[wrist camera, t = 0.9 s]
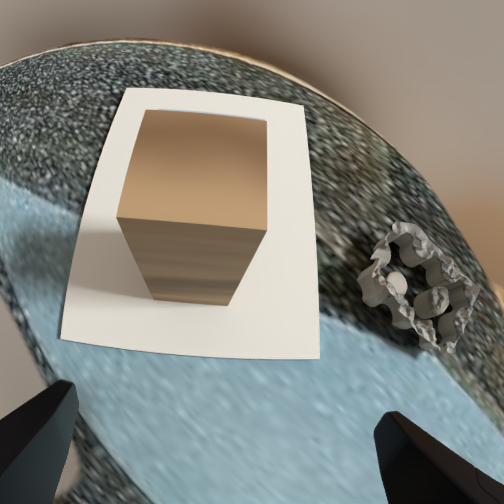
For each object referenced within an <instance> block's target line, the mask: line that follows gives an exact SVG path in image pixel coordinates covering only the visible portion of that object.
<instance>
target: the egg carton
mask: <svg viewBox="0 0 504 504" xmlns="http://www.w3.org/2000/svg"><path fill="white" fill-rule="evenodd" d="M392 241H393V242H395V243H396V244H397V245H398V246H399V247H400V250H399V254H400V258H401V260H402V262H403V263H404V264H405V265H406V266H408V267H415V266H417V265H419V264H420V265H422V266H423V267H424V268H425V269H426V280H427V282H428V284H429V285H430V286H431V287H432V288H431V289H429V290H427V291H425V292H423V293H420V294H418V295H417V296H416V297H415V299H414V304H413V306H414V308H412V307H410V306H409V305H408V301H407V300H406V299H405V298H404V294H405V293H406V290H407V282H406V279H405V278H404V277H403V275H402V274H401V273H399V272H391V273H389V274H388V276H387V278H386V280H385V279H384V277H383V276H381V275H380V273H379V269H381V268H382V267H384V266H385V265H387V264H388V263H389V261H390V259H391V251H390V248H389V245H388V244H389V243H391V242H392ZM373 251H374V254H373V255H372V257H371V259H372V260H375V262H374V263H373V265H371V266H370V267H368V268H367V269H365V270H364V271H362V272H361V273H360V275H359V277H358V279H357V282H358V283H359V285H360V286H361V288H362V292H363V297H362V300H363V301H364V303H366V304H367V305H368V306H370V307H376V306H377V305H378V304H381V303H383V304H385V305H387V306H388V307H389V308H390V310H391V312H392V316H393V320H392V325H394V326H396V327H398V328H400V329H408V328H411V327H413V328H414V329H415V330H416V332H417V333H418V334H419V346H420V347H421V348H422V349H424V350H426V351H427V350H429V349H431V348H437V349H438V348H439V350H440V352H441V353H444V352H448V353H451V355H452V354H454V353H455V351H456V348H455V345H456V343H457V341H458V340H459V338H460V337H462V336H463V334H464V327H465V325H466V324H467V322H468V321H469V316H470V315H471V313H472V311H473V308H472V305H473V303H474V301H475V300H476V298H477V295H478V293H479V290H480V288H479V286H477V285H476V284H475V283H473V282H472V281H471V280H469V279H468V278H467V277H466V276H464V275H462V274H461V273H460V269H459V268H456V267H454V266H453V260H452V259H451V258H449V257H448V256H446V255H445V254H444V253H443V252H442V251H441V250H440V249H439V248H438V247H437V246H436V245H434V244H433V243H432V242H431V241H430V240H429V239H428V237H427V236H426V235H425V233H424V232H423V231H422V229H421V228H419V227H418V226H417V225H415V224H412V223H404V222H395V223H394V224H393V230H392V231H390V232H389V233H388V234H387V235H386V236H385V237H383V238H382V239H381V240H380V241H379V242H378V243H377V244H376V246H375V247H374V249H373ZM444 286H445V287H444ZM446 288H447V289H448V290H449V299H448V290H447V289H446ZM449 301H450V302H449ZM449 303H451V305H452V307H453V310H452V312H449V313H446V314H444V315H442V316H441V317H440V318H439V321H438V330H439V333H440V335H441V336H442V340H441V343H440V344H436V343H435V342H436V341H437V339H436V338H435V330H434V328H433V327H432V321H431V320H429V319H428V318H431V317H434V316H438V315H440V314H442V313H443V312H444V311H445V310H446V308H447V307H448V305H449ZM414 310H415V313H416V314H417V316H418V317H419V318H421V319H428V320H425V321H418V322H415V323H413V320H414ZM434 319H435V318H434Z"/></svg>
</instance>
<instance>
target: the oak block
mask: <svg viewBox="0 0 504 504" xmlns="http://www.w3.org/2000/svg"><path fill="white" fill-rule="evenodd" d="M116 218H117V221H118V223H119V226H120V228H121V230H122V233H123V235H124V237H125V239H126V242H127V244H128V246H129V248H130V251H131V253H132V255H133V257H134V259H135V262H136V264H137V266H138V268H139V270H140V272H141V274H142V276H143V279H144V281H145V283H146V285H147V287H148V289H149V291H150V293H151V295H152V297H153V299H154V300H159V301H170V302H182V303H194V304H206V305H220V306H228V305H229V303H230V301H231V299H232V297H233V295H234V293H235V291H236V289H237V288H238V286H239V284H240V282H241V280H242V278H243V276H244V274H245V272H246V270H247V268H248V266H249V265H250V263H251V261H252V259H253V257H254V255H255V253H256V251H257V249H258V247H259V245H260V243H261V242H262V240H263V238H264V236H265V234H266V232H267V121H264V120H257V119H250V118H243V117H235V116H226V115H217V114H207V113H196V112H183V111H167V110H145V113H144V116H143V119H142V122H141V125H140V128H139V132H138V135H137V138H136V141H135V145H134V148H133V152H132V155H131V159H130V162H129V166H128V169H127V173H126V177H125V181H124V185H123V189H122V193H121V197H120V201H119V205H118V210H117V214H116Z"/></svg>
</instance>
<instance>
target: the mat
mask: <svg viewBox="0 0 504 504" xmlns="http://www.w3.org/2000/svg"><path fill="white" fill-rule="evenodd" d="M145 110H167V111H183V112H196V113H207V114H217V115H226V116H235V117H243V118H250V119H257V120H264V121H267V232H266V234H265V236H264V238H263V240H262V242H261V243H260V245H259V247H258V249H257V251H256V253H255V255H254V257H253V259H252V261H251V263H250V265H249V266H248V268H247V270H246V272H245V274H244V276H243V278H242V280H241V282H240V284H239V286H238V288H237V289H236V291H235V293H234V295H233V297H232V299H231V301H230V303H229V305H228V306H220V305H206V304H194V303H182V302H170V301H159V300H154V299H153V297H152V295H151V293H150V291H149V289H148V287H147V285H146V283H145V281H144V279H143V276H142V274H141V272H140V270H139V268H138V266H137V264H136V262H135V259H134V257H133V255H132V253H131V251H130V248H129V246H128V244H127V242H126V239H125V237H124V235H123V233H122V230H121V228H120V226H119V223H118V221H117V218H116V214H117V210H118V205H119V201H120V197H121V193H122V189H123V185H124V181H125V177H126V173H127V169H128V166H129V162H130V159H131V155H132V152H133V148H134V145H135V141H136V138H137V135H138V132H139V128H140V125H141V122H142V119H143V116H144V113H145ZM60 339H63V340H68V341H74V342H79V343H85V344H92V345H98V346H105V347H112V348H120V349H127V350H135V351H144V352H153V353H163V354H174V355H186V356H199V357H215V358H236V359H270V360H313V359H320V344H319V300H318V275H317V255H316V237H315V222H314V208H313V195H312V184H311V172H310V162H309V152H308V142H307V133H306V124H305V116H304V107H303V106H301V105H296V104H291V103H285V102H279V101H273V100H267V99H261V98H254V97H247V96H239V95H231V94H223V93H213V92H202V91H190V90H175V89H154V88H127V89H126V91H125V93H124V96H123V98H122V101H121V103H120V105H119V108H118V110H117V113H116V115H115V118H114V120H113V123H112V125H111V128H110V131H109V133H108V136H107V139H106V142H105V144H104V147H103V150H102V153H101V156H100V159H99V162H98V165H97V168H96V171H95V174H94V178H93V181H92V184H91V188H90V191H89V195H88V198H87V202H86V205H85V209H84V213H83V217H82V221H81V225H80V229H79V233H78V237H77V241H76V246H75V250H74V255H73V260H72V265H71V270H70V276H69V281H68V287H67V293H66V299H65V306H64V313H63V321H62V329H61V338H60Z"/></svg>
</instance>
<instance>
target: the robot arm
mask: <svg viewBox="0 0 504 504" xmlns="http://www.w3.org/2000/svg"><path fill="white" fill-rule="evenodd" d="M78 408H79V402H78V397H77V392H76V387H75V384H74V383H73V382H70V381H67V380H63V379H60V380H58V381H57V382H55V383H54V384H52V385H51V386H49V387H48V388H46V389H45V390H43V391H42V392H40V393H39V394H38V395H36V396H35V397H33V398H32V399H30V400H29V401H27V402H26V403H24V404H23V405H21V406H20V407H18V408H17V409H15V410H14V411H12V412H11V413H10V414H8V415H7V416H5V417H4V418H2V419H1V420H0V504H52V502H53V499H54V496H55V492H56V489H57V486H58V483H59V480H60V477H61V473H62V470H63V467H64V465H65V462H66V459H67V455H68V451H69V447H70V443H71V438H72V434H73V430H74V425H75V421H76V417H77V413H78ZM374 440H375V446H376V451H377V457H378V463H379V469H380V474H381V478H382V482H383V485H384V489H385V493H386V496H387V500H388V504H504V485H503V484H501V483H500V482H498V481H496V480H494V479H493V478H491V477H490V476H488V475H486V474H485V473H483V472H482V471H480V470H479V469H478V468H475V467H474V466H473V465H472V464H470V463H469V462H467V461H466V460H465V459H463V458H462V457H460V456H459V455H457V454H456V453H455V452H453V451H452V450H450V449H449V448H448V447H446V446H445V445H443V444H442V443H441V442H439V441H438V440H436V439H435V438H434V437H432V436H431V435H430V434H428V433H427V432H425V431H424V430H423V429H421V428H420V427H419V426H417V425H416V424H414V423H413V422H412V421H410V420H409V419H408V418H406V417H405V416H404V415H402V414H401V413H400V412H398V411H391V412H386V413H385V414H384V415H383V416H382V418H381V420H380V421H379V423H378V424H377V426H376V427H375V429H374Z"/></svg>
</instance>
